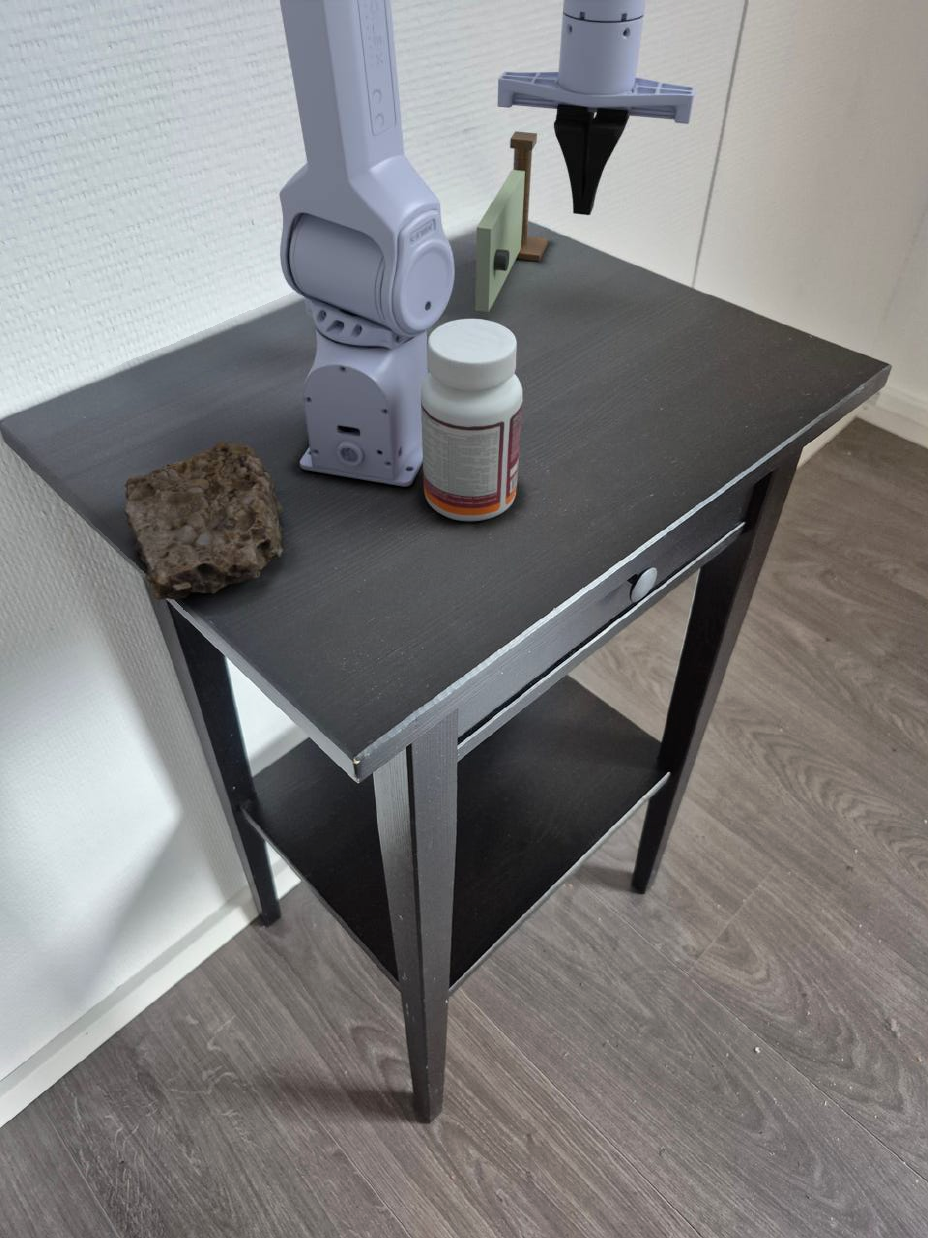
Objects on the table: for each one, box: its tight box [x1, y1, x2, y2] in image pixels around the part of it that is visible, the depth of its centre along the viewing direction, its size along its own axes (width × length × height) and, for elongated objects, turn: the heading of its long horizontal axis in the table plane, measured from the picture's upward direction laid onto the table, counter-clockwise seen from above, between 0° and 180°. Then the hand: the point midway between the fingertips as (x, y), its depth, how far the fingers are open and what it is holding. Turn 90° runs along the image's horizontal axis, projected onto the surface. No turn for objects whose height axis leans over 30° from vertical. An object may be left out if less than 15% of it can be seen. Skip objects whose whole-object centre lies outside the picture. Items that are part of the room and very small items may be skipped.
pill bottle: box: [421, 318, 524, 522], centre depth 55 cm, size 6×6×11 cm
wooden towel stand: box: [509, 130, 549, 262], centre depth 82 cm, size 4×5×10 cm
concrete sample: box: [123, 440, 284, 600], centre depth 54 cm, size 12×10×5 cm
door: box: [474, 169, 525, 313], centre depth 77 cm, size 13×2×7 cm, turn 165°
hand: (583, 209), depth 73 cm, fingers closed
